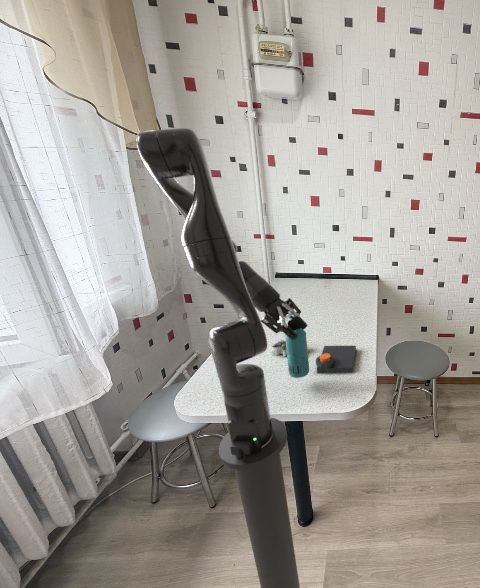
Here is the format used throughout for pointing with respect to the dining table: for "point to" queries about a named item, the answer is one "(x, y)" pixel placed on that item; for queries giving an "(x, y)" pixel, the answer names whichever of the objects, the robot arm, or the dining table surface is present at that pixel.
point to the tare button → (325, 358)
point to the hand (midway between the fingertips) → (300, 332)
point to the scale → (337, 359)
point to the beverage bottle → (297, 351)
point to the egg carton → (280, 348)
